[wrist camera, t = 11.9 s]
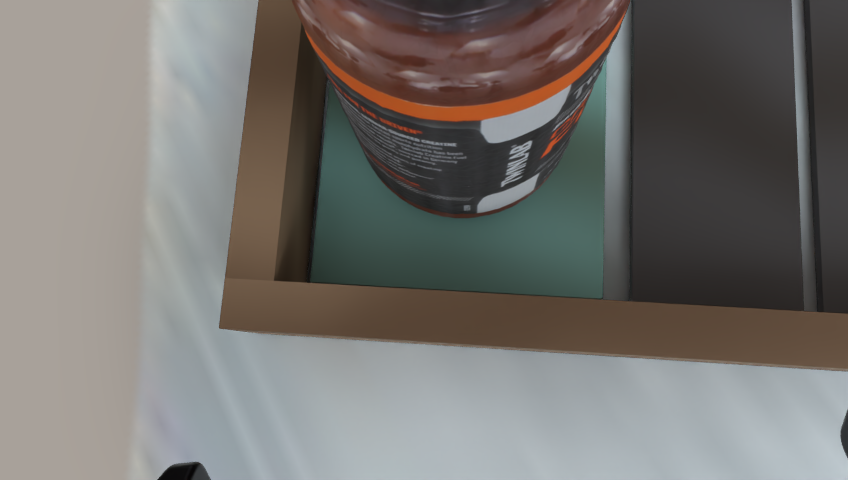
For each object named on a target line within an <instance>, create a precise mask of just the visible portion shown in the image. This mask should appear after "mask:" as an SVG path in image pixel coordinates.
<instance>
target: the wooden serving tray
mask: <svg viewBox="0 0 848 480" xmlns="http://www.w3.org/2000/svg"><path fill="white" fill-rule="evenodd" d="M804 10H805V33H806V55H807V78H808V101H809V124H810V146H811V169H812V192H813V215H814V237H815V260H816V283H817V306H818V312H809V311H803V310H804V302H803V277H802V252H801V228H800V203H799V178H798V153H797V128H796V103H795V78H794V53H793V28H792V3H791V0H632V82H631V205H630V301H617V300H601V299H603V250H604V185H605V121H606V59H605V62H604V64H603V67H602V70H601V72H600V74H599V76H598V78H597V80H596V82H595V84H594V87H593V90H592V92H591V94H590V96H589V99H588V101H587V103H586V106H585V108H584V111H583V113H582V115H581V117H580V119H579V122H578V124H577V127H576V129H575V131H574V133H573V134H572V137H571V139H570V142H569V144H568V146H567V148H566V150H565V152H564V154H563V156H562V159H561V160H560V161H559V163H558V166H557V167H556V168H555V169H554V170H553V172H552V173H551V174H550V176H549V177H548V178H547V180H546V181H545V182H544V183H543V184H542V185H541V186H540V188H538V189H537V190H536V191H535V192H534V193H533V194H531V195H530V196H529V197H527V198H526V199H525V200H523V201H521V202H519V203H518V204H517V205H514V206H513V207H511V208H508V209H505V210H503V211H501V212H498V213H495V214H491V215H485V216H480V217H476V218H450V217H442V216H438V215H434V214H431V213H428V212H426V211H423V210H420V209H418V208H416V207H414V206H412V205H410V204H408V203H407V202H405V201H404V200H402V199H401V198H399V197H398V196H397V195H396V194H394V193H393V192H392V191H391V190H390V189H389V188H388V187H387V186H386V185H385V184H384V183H383V182H382V181H381V180H380V179H379V177H378V176H377V175H376V173H375V172H374V170H373V169H372V167H371V165H370V164H369V162H368V160H367V158H366V156H365V154H364V152H363V149H362V148H361V146H360V144H359V142H358V140H357V138H356V136H355V133H354V131H353V129H352V127H351V125H350V123H349V120H348V118H347V116H346V115H345V113H344V111H343V109H342V107H341V105H340V102H339V100H338V98H337V97H336V94H335V92H334V90H333V88H332V86H331V84H329V94H328V105H327V115H326V125H325V136H324V146H323V156H322V166H321V177H320V187H319V197H318V207H317V218H316V228H315V238H314V249H313V259H312V269H311V279H310V282H312V283H307V277H308V267H309V257H310V246H311V236H312V226H313V216H314V206H315V195H316V185H317V175H318V165H319V155H320V145H321V134H322V124H323V114H324V104H325V94H326V83H327V76H326V74H325V72H324V69H323V68H322V65H321V63H320V61H319V59H318V57H317V55H316V53H315V51H314V49H313V47H312V45H311V43H310V41H309V39H308V37H307V34H306V32H305V29H304V26H303V24H302V22H301V20H300V18H299V16H298V14H297V12H296V10H295V8H294V5H293V3H292V1H291V0H259V2H258V10H257V18H256V26H255V35H254V43H253V51H252V59H251V68H250V76H249V84H248V92H247V101H246V109H245V117H244V125H243V134H242V142H241V150H240V158H239V167H238V175H237V183H236V191H235V200H234V208H233V216H232V224H231V233H230V241H229V249H228V257H227V266H226V274H225V282H224V290H223V299H222V307H221V315H220V323H219V328H220V329H228V330H236V331H244V332H252V333H260V334H275V335H291V336H306V337H322V338H337V339H352V340H368V341H383V342H399V343H414V344H430V345H445V346H461V347H476V348H492V349H507V350H523V351H538V352H554V353H569V354H585V355H600V356H616V357H631V358H647V359H662V360H678V361H693V362H709V363H724V364H739V365H755V366H770V367H786V368H801V369H817V370H832V371H848V0H804Z"/></svg>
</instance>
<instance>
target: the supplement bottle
mask: <svg viewBox="0 0 848 480" xmlns="http://www.w3.org/2000/svg"><path fill="white" fill-rule="evenodd" d="M291 1H292V3H293V5H294V8H295V10H296V12H297V14H298V16H299V18H300V20H301V22H302V24H303V26H304V29H305V32H306V34H307V37H308V39H309V41H310V43H311V45H312V47H313V49H314V51H315V53H316V55H317V57H318V59H319V61H320V63H321V65H322V68H323V69H324V72H325V74H326V76H327V78H328V80H329V82H330V84H331V86H332V88H333V90H334V92H335V94H336V97H337V98H338V100H339V102H340V105H341V107H342V109H343V111H344V113H345V115H346V116H347V118H348V120H349V123H350V125H351V127H352V129H353V131H354V133H355V136H356V138H357V140H358V142H359V144H360V146H361V148H362V149H363V152H364V154H365V156H366V158H367V160H368V162H369V164H370V165H371V167H372V169H373V170H374V172H375V173H376V175H377V176H378V177H379V179H380V180H381V181H382V182H383V183H384V184H385V185H386V186H387V187H388V188H389V189H390V190H391V191H392V192H393V193H394V194H396V195H397V196H398V197H399V198H401V199H402V200H404V201H405V202H407V203H408V204H410V205H412V206H414V207H416V208H418V209H420V210H423V211H426V212H428V213H431V214H434V215H438V216H442V217H450V218H476V217H480V216H485V215H491V214H495V213H498V212H501V211H503V210H505V209H508V208H511V207H513V206H514V205H517V204H518V203H519V202H521V201H523V200H525V199H526V198H527V197H529V196H530V195H531V194H533V193H534V192H535V191H536V190H537V189H538V188H540V186H541V185H542V184H543V183H544V182H545V181H546V180H547V178H548V177H549V176H550V174H551V173H552V172H553V170H554V169H555V168H556V167H557V166H558V163H559V161H560V160H561V159H562V156H563V154H564V152H565V150H566V148H567V146H568V144H569V142H570V139H571V137H572V134H573V133H574V131H575V129H576V127H577V124H578V122H579V119H580V117H581V115H582V113H583V111H584V108H585V106H586V103H587V101H588V99H589V96H590V94H591V92H592V90H593V87H594V84H595V82H596V80H597V78H598V76H599V74H600V72H601V70H602V67H603V64H604V62H605V59H606V57H607V55H608V53H609V52H610V49H611V46H612V43H613V42H614V40H615V39H616V37H617V34H618V32H619V29H620V27H621V24H622V21H623V18H624V16H625V14H626V12H627V9H628V5H629V3H630V0H291Z"/></svg>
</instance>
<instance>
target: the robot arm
mask: <svg viewBox="0 0 848 480" xmlns="http://www.w3.org/2000/svg"><path fill="white" fill-rule="evenodd" d="M841 442H842V446H843V449H844V451H845V453H846V456H847V458H848V410H847V413H846V416H845V419H844V422H843V425H842V427H841ZM158 480H211V479H210V477H209V475H208V473H207V471H206V469H205V468H204V466H203V465H202V464H201V463H199V462H189V463H179V464H174V465H172V466H170V467H169V468H167V469H166V470H165V472H164V473H163V474H162V475H161V476H160V477H159V479H158Z"/></svg>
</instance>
